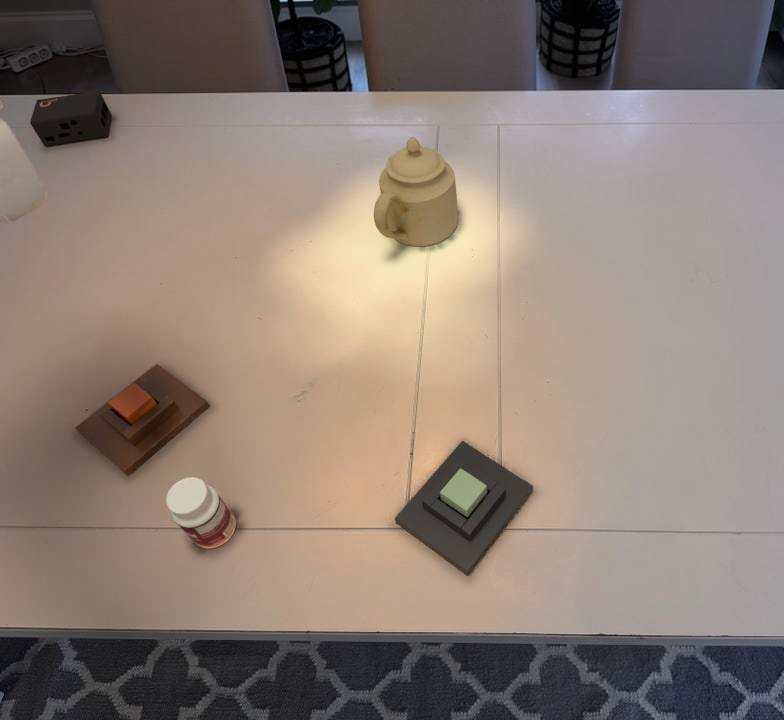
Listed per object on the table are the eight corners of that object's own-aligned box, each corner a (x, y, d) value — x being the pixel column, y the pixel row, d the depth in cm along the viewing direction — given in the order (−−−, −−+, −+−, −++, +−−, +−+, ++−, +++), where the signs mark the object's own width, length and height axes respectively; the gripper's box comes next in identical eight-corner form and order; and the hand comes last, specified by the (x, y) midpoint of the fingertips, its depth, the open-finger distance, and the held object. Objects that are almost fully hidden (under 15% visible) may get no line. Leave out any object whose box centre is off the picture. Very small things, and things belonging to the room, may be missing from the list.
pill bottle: (185, 527, 74) (153, 493, 67) (223, 500, 76) (196, 464, 69) (205, 558, 72) (174, 526, 65) (244, 530, 74) (218, 496, 67)
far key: (132, 425, 79) (126, 417, 78) (114, 410, 81) (107, 402, 79) (157, 404, 81) (151, 396, 80) (139, 390, 82) (133, 382, 81)
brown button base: (128, 476, 78) (116, 463, 76) (79, 432, 82) (66, 419, 80) (210, 406, 84) (201, 392, 81) (160, 368, 88) (151, 354, 85)
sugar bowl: (456, 265, 98) (449, 180, 86) (380, 266, 98) (363, 182, 86) (459, 198, 107) (453, 113, 95) (390, 199, 107) (375, 115, 95)
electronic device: (108, 138, 120) (94, 112, 116) (45, 147, 118) (29, 122, 114) (112, 115, 124) (99, 90, 120) (51, 124, 123) (36, 99, 119)
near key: (467, 518, 71) (466, 510, 69) (440, 499, 72) (439, 492, 71) (487, 492, 73) (487, 485, 71) (461, 475, 74) (460, 467, 73)
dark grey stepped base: (468, 576, 70) (467, 565, 67) (395, 522, 74) (392, 511, 71) (533, 490, 75) (534, 478, 73) (462, 445, 79) (461, 432, 77)
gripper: (-204, 51, 54) (-83, 190, 65) (-81, 136, 46) (32, 278, 57) (-123, 18, 57) (-21, 157, 68) (5, 94, 49) (97, 237, 60)
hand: (4, 213), depth 62 cm, fingers closed
